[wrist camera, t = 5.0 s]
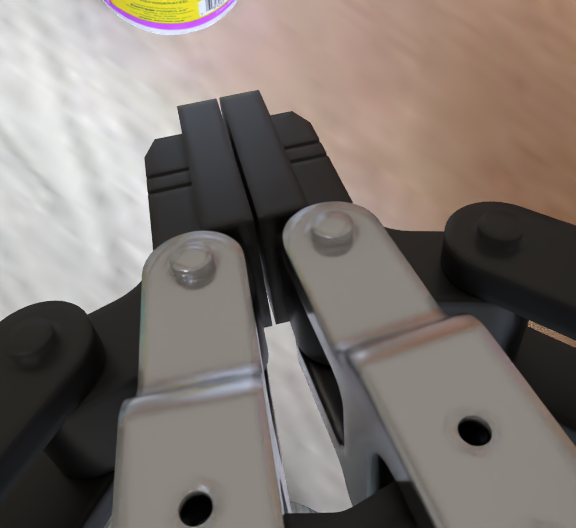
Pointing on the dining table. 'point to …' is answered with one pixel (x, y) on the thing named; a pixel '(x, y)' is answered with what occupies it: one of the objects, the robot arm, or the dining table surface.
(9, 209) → the dining table surface
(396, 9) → the dining table surface
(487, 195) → the dining table surface
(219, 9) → the supplement bottle
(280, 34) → the dining table surface
